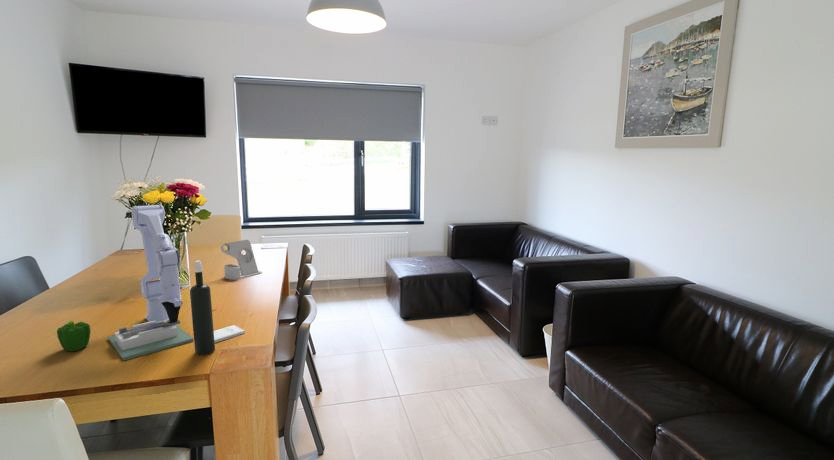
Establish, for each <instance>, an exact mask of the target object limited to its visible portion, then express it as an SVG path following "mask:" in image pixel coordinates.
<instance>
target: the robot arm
mask: <svg viewBox="0 0 834 460" xmlns="http://www.w3.org/2000/svg"><path fill="white" fill-rule="evenodd" d="M131 219H132V225H133V227H134V229H136V230H139V232H140V234H141V238H142V244H143V245H142V246H143V250H144V257H145V262H146V268H147V272H146V274H145V275H143V276H142V277H141V279H140V291H141V296H142V298H143V299H145V300H146V314H147V315H145V316H144V319H146V320H147V322H150V321H156V322H161V321H165V320H170V322H174V321H177V320H179V314H180V309H181V308H182V305H183V301H182V294H181V285H180V273H179V265H180V263H181V258H180V252H179V250H178V249H177V248H176V246H173V243H172V240H171V238H170V236H169V235H168V234H167V233H165V232H164V227H163V223H164V221H165V219H166V212H165V207H164V205H162V204H151V205H137V206H136V205H133V206H132V207H131Z"/></svg>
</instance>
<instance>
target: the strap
mask: <svg viewBox="0 0 834 460" xmlns="http://www.w3.org/2000/svg"><path fill="white" fill-rule="evenodd" d="M167 321H168V323H166V324H164V321H162V322H158V323H154V324H149V325H145V326H141V327H136V328H132V327H131V328H132V329H131V328H128V330H126V331H125V330H123V331H122V333H127V332H131V335H134V334H138V333H140V332H144V331H148V330H152V329H157V328H161V327H167V326H172V325H176V324H177V325H179V324H181V321H180V319H178V320H177V321H174V322H170V320H167Z"/></svg>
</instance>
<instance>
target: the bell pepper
mask: <svg viewBox="0 0 834 460" xmlns="http://www.w3.org/2000/svg"><path fill="white" fill-rule="evenodd" d="M74 322H75V321H73V320H69V321H68V322H67V323H66V324H64V325H63V326H61V327H58V328H57V331H56V334H57V339H58V341H59V344H60V346H61V347H62V349H64V350H65V351H67V352H76V351H77V352H78V351H80V350H82V349H83V348H85V347H87V346H88V345H89V343H90V338H91V326H90V324H89V323H87V322H84V321H78V322H76V323H74Z"/></svg>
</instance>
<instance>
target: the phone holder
mask: <svg viewBox="0 0 834 460" xmlns="http://www.w3.org/2000/svg"><path fill="white" fill-rule="evenodd" d="M224 246H226V248H227V249H226V250H225V248H224ZM252 248H253V247H252V245H251V241H250V240H249V239H244V240H243V239H242V240H237V241H232V242H227V243H226V242H225V243H223V244H222V245H221V246H220V249H221V252H222V253H223V254H225V255H226V256H227V255H228V256H230V257H231V258H234V259H236V261H237V264H238V265H236V264H231V263H229V264H225V265H224V267H223V269H224V276H223V277H224V279H227V280H231V281H239V280H241V279H245V278H249V277H253V276H257V275H260V274H263V272H262V271H260V270H259V269H258V265H257V263H256V258H255V255H254V252H253V249H252ZM242 251H245V254H243V253H242Z"/></svg>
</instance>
